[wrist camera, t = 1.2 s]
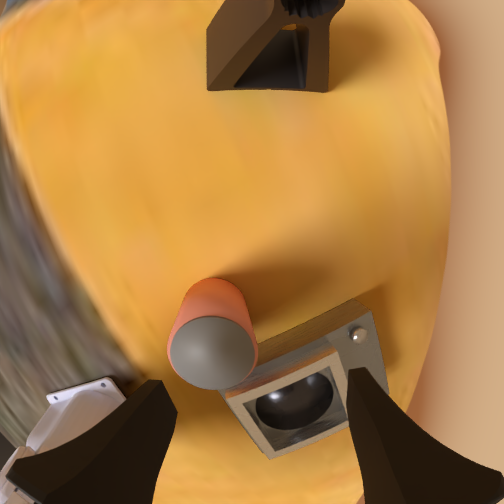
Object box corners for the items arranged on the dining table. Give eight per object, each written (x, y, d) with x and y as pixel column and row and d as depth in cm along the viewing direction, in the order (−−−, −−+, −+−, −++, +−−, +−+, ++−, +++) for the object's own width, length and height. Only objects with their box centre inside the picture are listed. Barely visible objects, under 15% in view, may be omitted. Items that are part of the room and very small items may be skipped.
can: (200, 345, 20) (193, 402, 13) (171, 293, 19) (149, 334, 12) (255, 322, 20) (272, 373, 13) (230, 267, 19) (235, 298, 13)
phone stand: (315, 35, 17) (377, -56, 6) (325, 93, 18) (414, 9, 7) (206, 31, 17) (203, -81, 5) (206, 91, 17) (196, -26, 6)
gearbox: (258, 431, 22) (265, 465, 18) (213, 361, 20) (213, 396, 16) (374, 377, 22) (397, 402, 18) (353, 298, 21) (382, 318, 16)
